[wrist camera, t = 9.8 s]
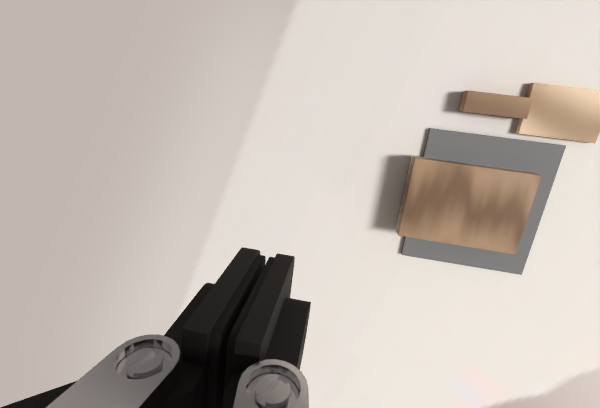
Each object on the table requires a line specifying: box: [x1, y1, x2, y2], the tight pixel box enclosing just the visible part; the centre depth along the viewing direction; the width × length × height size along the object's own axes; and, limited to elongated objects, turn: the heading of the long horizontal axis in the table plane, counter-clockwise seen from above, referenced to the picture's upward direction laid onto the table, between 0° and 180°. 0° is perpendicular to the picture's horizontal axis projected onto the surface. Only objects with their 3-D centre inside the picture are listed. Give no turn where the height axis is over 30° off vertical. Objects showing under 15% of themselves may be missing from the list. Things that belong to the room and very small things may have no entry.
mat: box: [401, 128, 566, 275], centre depth 30 cm, size 12×11×1 cm
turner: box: [459, 83, 600, 143], centre depth 27 cm, size 4×11×1 cm, turn 83°
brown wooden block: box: [396, 156, 541, 254], centre depth 29 cm, size 7×2×10 cm
